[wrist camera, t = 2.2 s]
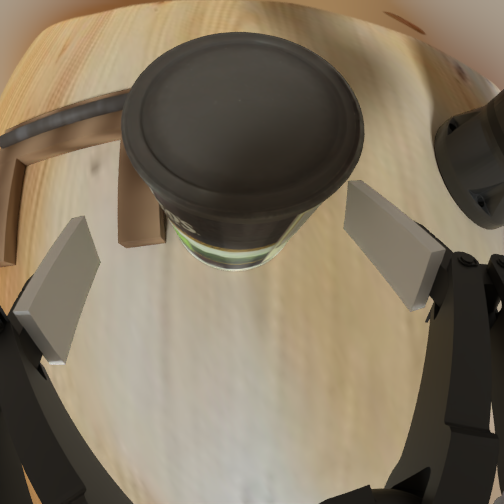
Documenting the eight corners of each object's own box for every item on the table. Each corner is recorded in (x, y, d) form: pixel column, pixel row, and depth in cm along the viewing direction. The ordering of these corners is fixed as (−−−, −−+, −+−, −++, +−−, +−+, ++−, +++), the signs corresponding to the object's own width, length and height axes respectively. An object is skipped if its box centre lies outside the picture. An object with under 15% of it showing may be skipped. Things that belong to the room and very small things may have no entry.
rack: (162, 95, 26) (157, 72, 23) (165, 242, 23) (155, 231, 20) (13, 138, 24) (-1, 123, 21) (-5, 268, 21) (-27, 262, 18)
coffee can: (202, 293, 23) (165, 268, 9) (158, 183, 24) (103, 70, 11) (316, 241, 24) (408, 166, 11) (263, 143, 26) (292, 19, 12)
